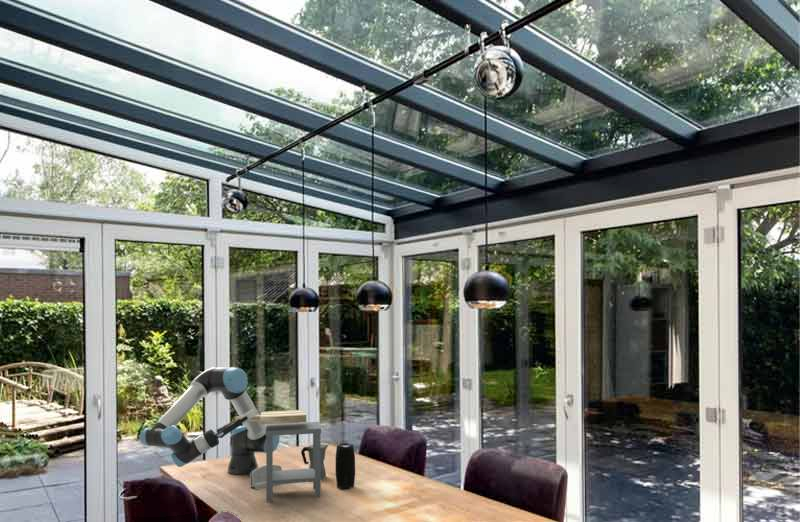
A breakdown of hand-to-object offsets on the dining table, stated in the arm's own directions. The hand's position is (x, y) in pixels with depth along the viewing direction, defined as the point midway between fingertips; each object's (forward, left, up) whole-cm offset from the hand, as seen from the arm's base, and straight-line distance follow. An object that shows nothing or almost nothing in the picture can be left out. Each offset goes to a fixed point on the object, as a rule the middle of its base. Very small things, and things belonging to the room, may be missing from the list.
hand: (254, 412), depth 277 cm
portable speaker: (-5, +41, -37) cm, 56 cm away
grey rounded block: (-19, +5, -38) cm, 43 cm away
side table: (0, +17, -37) cm, 41 cm away
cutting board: (0, +7, -4) cm, 9 cm away
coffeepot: (-26, +28, -37) cm, 54 cm away
